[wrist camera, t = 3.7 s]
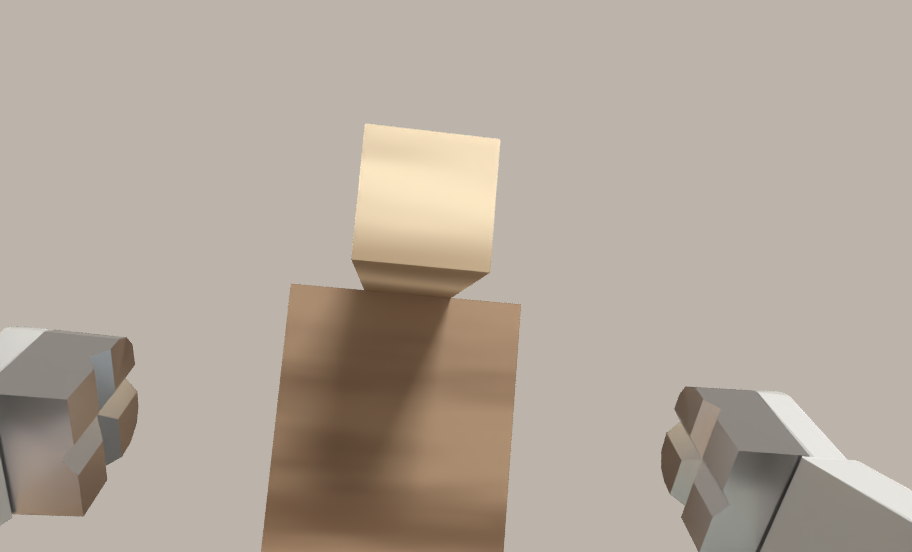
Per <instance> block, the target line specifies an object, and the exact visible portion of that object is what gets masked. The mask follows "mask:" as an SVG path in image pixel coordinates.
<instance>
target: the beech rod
mask: <svg viewBox="0 0 912 552" xmlns="http://www.w3.org/2000/svg"><path fill="white" fill-rule="evenodd" d="M499 150H500V139H494V138H485V137H477V136H468V135H459V134H451V133H442V132H434V131H425V130H416V129H408V128H399V127H391V126H381V125H373V124H365V130H364V139H363V149H362V159H361V169H360V179H359V190H358V199H357V209H356V219H355V229H354V239H353V249H352V258H351V260H352V262H353V264H354V267H355V269H356V271H357V274H358V276H359V278H360V281H361V283H362V285H363V288H364V290H367V291H378V292H389V293H400V294H411V295H422V296H433V297H444V298H451V297H453V296H455V295H456V294H458V293H459V292H461V291H462V290H464V289H465V288H467V287H469V286H470V285H471V284H473V283H475V282H476V281H478V280H479V279H481V278H482V277H484V276H485V275H487V274H488V273H490V267H491V253H492V241H493V240H492V239H493V226H494V215H495V201H496V189H497V176H498V163H499Z"/></svg>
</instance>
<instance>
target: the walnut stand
mask: <svg viewBox="0 0 912 552" xmlns="http://www.w3.org/2000/svg"><path fill="white" fill-rule="evenodd" d="M520 311H521V304H511V303H500V302H489V301H478V300H467V299H455V298H444V297H433V296H422V295H411V294H400V293H389V292H378V291H367V290H356V289H345V288H333V287H321V286H311V285H300V284H291V287H290V296H289V305H288V314H287V323H286V332H285V342H284V350H283V359H282V368H281V377H280V386H279V395H278V404H277V414H276V422H275V431H274V440H273V449H272V458H271V467H270V477H269V486H268V495H267V504H266V512H265V521H264V530H263V540H262V548H261V552H503V550H504V537H505V522H506V507H507V494H508V480H509V466H510V452H511V437H512V424H513V423H512V422H513V409H514V395H515V381H516V368H517V367H516V366H517V353H518V340H519V325H520Z"/></svg>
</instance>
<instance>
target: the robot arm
mask: <svg viewBox="0 0 912 552" xmlns="http://www.w3.org/2000/svg"><path fill="white" fill-rule="evenodd" d="M134 365H135V361H134V354H133V346H132V343H131V342H130V341H129V340H128V339H127V337H118V336H109V335H99V334H89V333H80V332H70V331H61V330H50V329H45V328H30V327H8V328H5V329H4V330H3V331H2V332H0V525H2V524H4V523H5V522H7V521H8V520H10V519H11V518H12V514H20V515H51V516H54V515H55V516H84V515H85V513H86V512H87V510H88V508H89V507H90V506H91V504H92V502H93V501H94V499H95V498H96V496H97V495H98V493H99V492H100V490H101V488H102V487H103V485H104V484H105V482H106V481H107V474H106V465H108V464H110V463H112V462H113V461H115V460H117V459H119V458H120V457H122V456H123V454H124V452H125V450H126V449H127V447H128V446H129V444H130V442H131V439H132V436H133V433H134V430H135V427H136V423H137V414H138V396H137V391H136V389H135V388H134V387H133V386H132V385H131V384H130V383H129V381H128V380H127V379H126V376H127V375H128V373H129V372H130V371H131V369H132V368H133V367H134ZM675 411H676V414H677V416H678V418H679V420H680V422H679V423H678V424H677V425H675V426H674V427H673V428H672V429H671V430H669V431H668V432H667V434H666V437H665V441H664V444H663V447H662V452H661V454H662V457H661V458H662V459H661V469H662V473H663V478H664V482H665V484H666V486H667V488H668V491H669V493H670V494H671V495H672V496H673V497H674V498H676V499H677V500H678V501H679V502H681V503H682V504H683V505H685V508H684V511H683V514H682V517H681V518H682V520H683V522H684V523H685V526H686V528H687V530H688V532H689V534H690V536H691V537H692V540H693V541H694V544H695V546H696V548H697V550H698V552H912V490H910V489H908V488H906V487H905V486H903V485H901V484H899V483H897V482H895V481H894V480H892V479H890V478H888V477H886V476H884V475H883V474H881V473H879V472H877V471H875V470H874V469H871V468H870V467H868V466H866V465H864V464H863V463H861V462H859V461H855V460H847V459H846V458H845V457H844V456H843V455H842V453H840V451H839V450H838V449H837V448H836V447H835V446H834V445H833V444H832V442H831V441H830V440H829V439H828V438H827V437H826V436H825V435H824V434H823V432H822V431H821V430H820V429H819V428H818V427H817V426H816V425H815V424H814V423H813V421H812V420H811V419H810V418H809V417H808V416H807V415H806V414H805V413H804V411H802V409H801V408H800V407H799V406H798V405H797V404H796V403H795V401H794V400H793V399H792V398H791V397H790V396H789V395H786V394H784V393H782V392H778V391H757V390H736V389H717V388H701V387H685V388H684V389H683V391H682V392H681V393H680V395H679V397H678V400H677V403H676V406H675Z"/></svg>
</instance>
